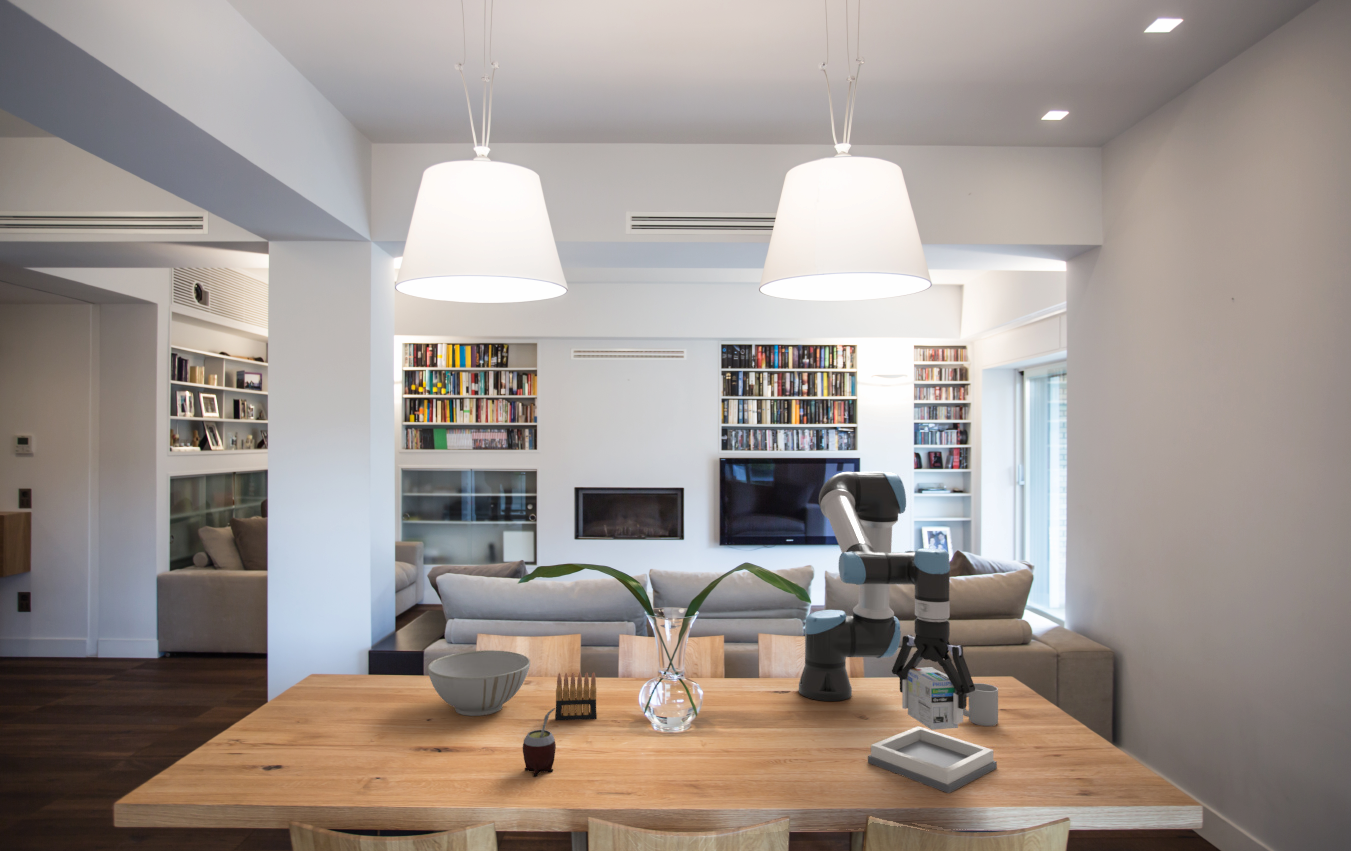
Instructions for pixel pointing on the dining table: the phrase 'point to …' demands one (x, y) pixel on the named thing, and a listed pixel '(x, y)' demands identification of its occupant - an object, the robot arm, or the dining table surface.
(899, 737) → the socket dock
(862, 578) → the robot arm
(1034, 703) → the dining table surface
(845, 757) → the dining table surface
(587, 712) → the ammunition clip
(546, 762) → the mate gourd
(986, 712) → the cup
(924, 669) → the light bulb box
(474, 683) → the decorative bowl
